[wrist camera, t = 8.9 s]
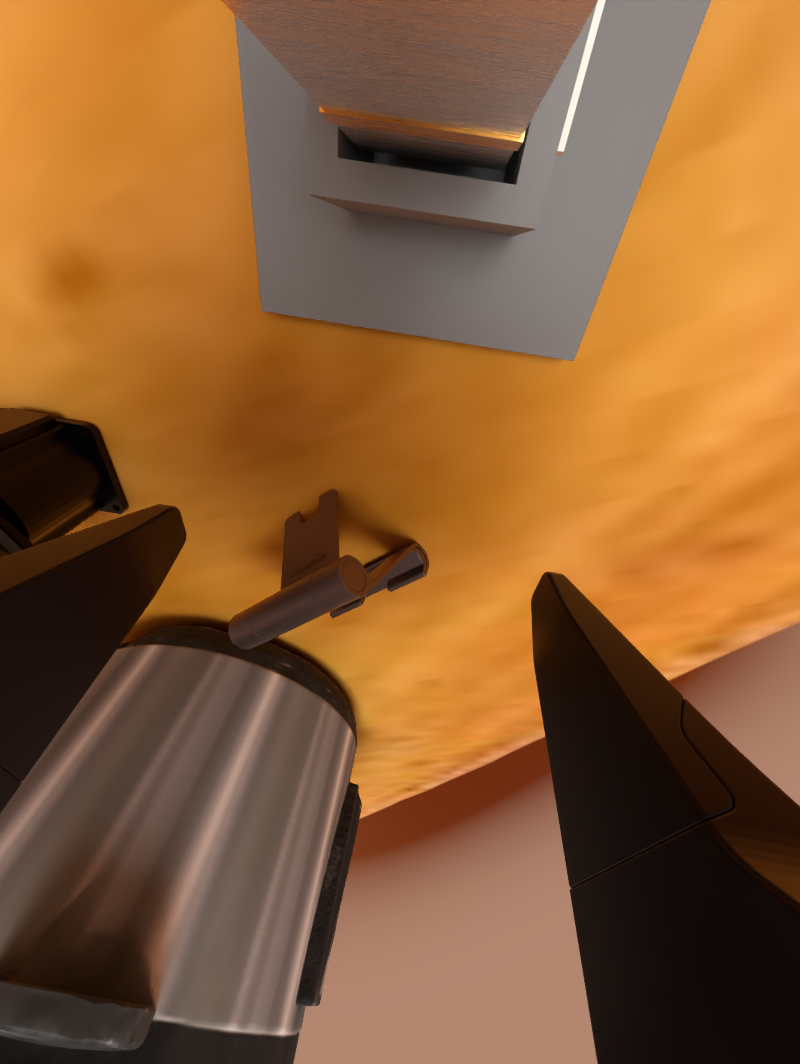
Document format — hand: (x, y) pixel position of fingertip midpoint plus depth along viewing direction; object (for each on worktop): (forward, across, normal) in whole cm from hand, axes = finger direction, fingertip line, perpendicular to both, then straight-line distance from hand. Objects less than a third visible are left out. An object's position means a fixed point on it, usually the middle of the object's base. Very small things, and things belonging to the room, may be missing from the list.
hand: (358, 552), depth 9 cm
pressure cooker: (+13, +13, +35) cm, 40 cm away
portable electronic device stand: (+13, +3, +11) cm, 18 cm away
